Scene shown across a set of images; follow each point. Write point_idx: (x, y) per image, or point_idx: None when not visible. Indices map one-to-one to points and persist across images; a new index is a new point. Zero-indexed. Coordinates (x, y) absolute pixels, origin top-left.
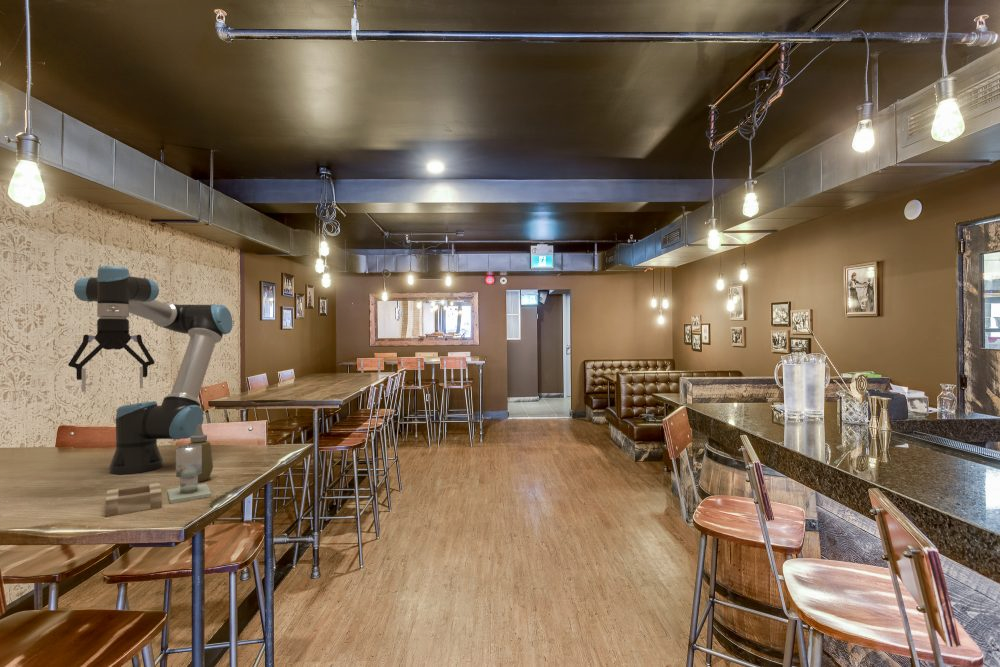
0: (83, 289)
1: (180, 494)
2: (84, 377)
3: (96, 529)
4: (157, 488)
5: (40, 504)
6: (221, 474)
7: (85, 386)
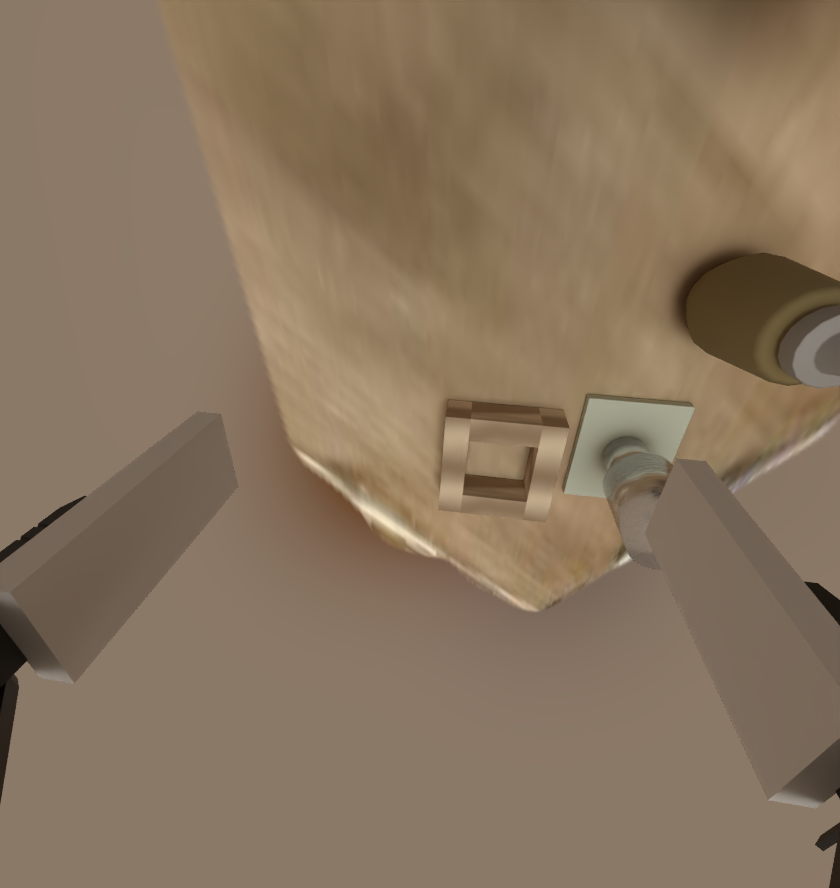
0: None
1: (598, 465)
2: (154, 584)
3: (426, 544)
4: (547, 485)
5: (303, 279)
6: (828, 260)
7: (201, 452)
